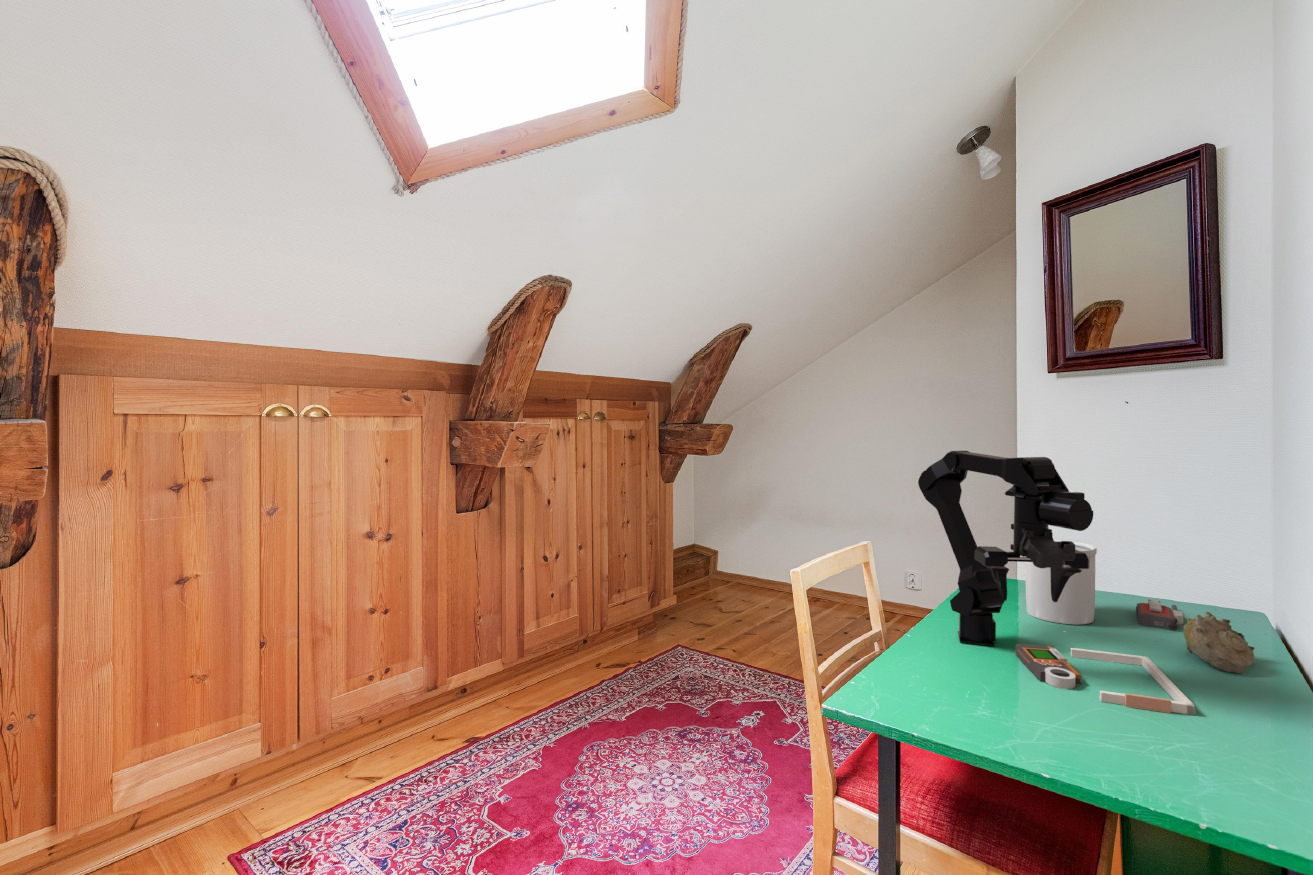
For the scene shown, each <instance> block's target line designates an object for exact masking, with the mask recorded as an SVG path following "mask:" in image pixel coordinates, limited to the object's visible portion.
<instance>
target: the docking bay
mask: <svg viewBox="0 0 1313 875" xmlns="http://www.w3.org/2000/svg"><path fill="white" fill-rule="evenodd" d="M1070 656H1071V657H1072V658H1078V659H1085V660H1086V659H1087V660H1096V661H1103V662H1112V663H1119V664H1125V665H1126V664H1127V665H1134V666H1135V665H1136V666H1142V667H1143V668H1144V669H1145V670H1146V671H1147V672H1148V673H1149V674H1150V676H1151V677H1152V678H1154V679H1155V681H1156V682H1157V683H1158V685H1159V686H1161V688H1162V689H1163V690H1164V691H1165V692H1166V693H1167V694H1168V695H1169V696H1170V697H1171V698H1172V700H1171V699H1168V698H1161V697H1156V696H1155V697H1154V696H1148V695H1141V694H1132V693H1126V692H1125V693H1121V692H1120V693H1119V692H1114V691H1113V692H1112V691H1108V690H1099V701H1100V702H1102V703H1109V704H1114V705H1115V704H1116V705H1123V706H1125V707H1127V708H1133V709H1140V710H1145V711H1146V710H1147V711H1154V712H1161V713H1167V714H1172V713H1175V714H1176V713H1177V714H1184V715H1190V716H1196V706H1195V705H1194V703H1193V702H1192V701H1191V700H1190V699H1189V697H1187V696H1186V695H1185V694H1184V693H1183V692H1182V691H1181V690H1180V689H1179V688H1178V687H1177V686H1176V685H1175V683H1173V682H1172V681H1171V679H1169V677H1167V675H1166V674H1165V673H1164V672H1163V671H1162V670H1161V669H1160V668H1159V667H1158V666H1156V664H1155V663H1154V662H1153V661H1152V660H1151V659H1150V658H1149V657H1148V656H1144V655H1135V654H1134V655H1133V654H1126V653H1125V654H1124V653H1118V652H1110V651H1102V650H1093V649H1084V648H1077V647H1070Z"/></svg>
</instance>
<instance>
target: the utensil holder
mask: <svg viewBox="0 0 1313 875" xmlns="http://www.w3.org/2000/svg"><path fill="white" fill-rule="evenodd" d="M1053 540H1054V541H1055V542H1061V541H1068V540H1066V539H1065V540H1064V539H1054V538H1053ZM1071 541H1072V542H1073V543H1074V544H1075V550H1078V551H1081V552H1083V553H1086V555H1087V556H1088V558H1089V560H1090V563H1089V569H1080V570H1082V571H1081V573H1075V574H1074V575H1072V576H1071V577H1070V578H1069V580H1068V581H1067V583H1066V585H1065V587H1064V589H1063V591H1062V593H1061V595H1060V597H1059V599H1058V601H1057V602H1053V601H1052V597H1051V575H1050V568H1038V567H1036V566H1035V565H1034V564H1033V562H1024V569H1025V572H1024V576H1025V602H1026V604H1025V605H1026V612H1027V614H1028V615H1029V616H1031V617H1033V618H1035V619H1039V620H1042V621H1045V622H1050V623H1051V622H1052V623H1057V624H1064V625H1076V626H1077V625H1088V624H1091V623H1093V622H1094V621H1095V610H1096V555H1097V552H1098V549H1097V547H1096V546H1095V545H1093V544H1090V543H1086V542H1081V541H1080V542H1079V541H1074V540H1071Z"/></svg>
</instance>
